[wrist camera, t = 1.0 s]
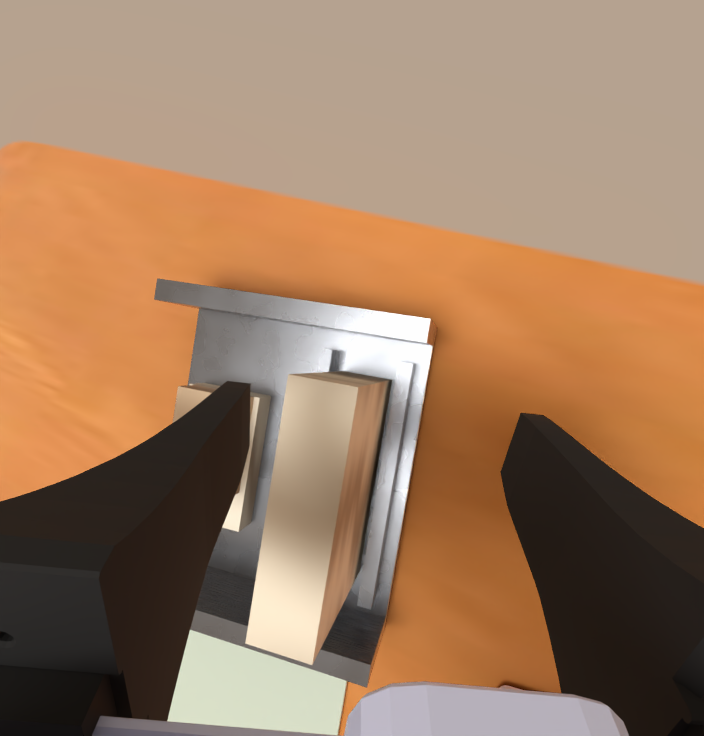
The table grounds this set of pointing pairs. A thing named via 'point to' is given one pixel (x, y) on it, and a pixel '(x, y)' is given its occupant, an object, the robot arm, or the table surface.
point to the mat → (253, 690)
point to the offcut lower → (248, 464)
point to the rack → (269, 377)
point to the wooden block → (316, 508)
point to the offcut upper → (195, 402)
